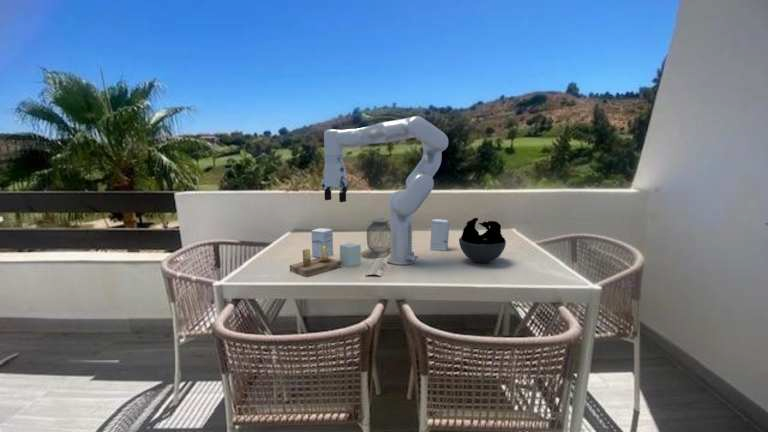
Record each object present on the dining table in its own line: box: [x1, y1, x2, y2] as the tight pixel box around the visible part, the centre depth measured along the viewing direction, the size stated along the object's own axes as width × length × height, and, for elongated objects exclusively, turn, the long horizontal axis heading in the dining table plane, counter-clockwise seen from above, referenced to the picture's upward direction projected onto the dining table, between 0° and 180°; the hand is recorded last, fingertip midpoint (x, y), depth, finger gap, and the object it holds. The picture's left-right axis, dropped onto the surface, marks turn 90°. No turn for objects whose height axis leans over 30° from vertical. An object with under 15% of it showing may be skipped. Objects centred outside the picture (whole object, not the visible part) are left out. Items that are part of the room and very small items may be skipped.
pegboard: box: [289, 248, 343, 278], centre depth 163 cm, size 12×18×9 cm, turn 136°
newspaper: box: [365, 257, 389, 278], centre depth 164 cm, size 24×7×2 cm, turn 172°
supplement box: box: [311, 227, 334, 258], centre depth 183 cm, size 7×7×13 cm
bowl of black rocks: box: [458, 217, 507, 264], centre depth 170 cm, size 20×20×19 cm
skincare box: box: [429, 218, 450, 252], centre depth 193 cm, size 8×6×15 cm
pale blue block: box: [339, 242, 362, 268], centre depth 169 cm, size 6×6×9 cm
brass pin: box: [320, 245, 329, 263], centre depth 166 cm, size 3×3×9 cm
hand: (335, 200), depth 163 cm, fingers open, 9 cm apart
